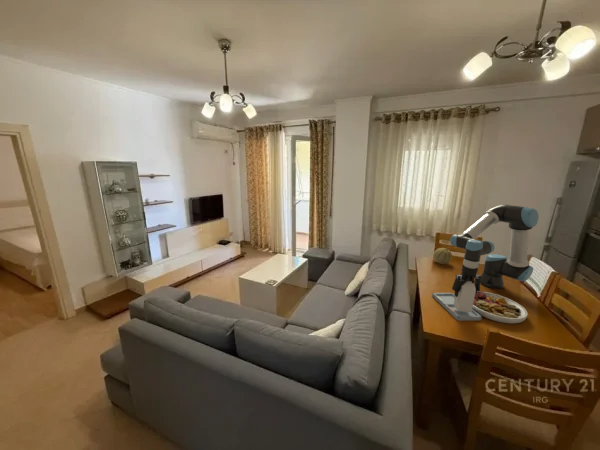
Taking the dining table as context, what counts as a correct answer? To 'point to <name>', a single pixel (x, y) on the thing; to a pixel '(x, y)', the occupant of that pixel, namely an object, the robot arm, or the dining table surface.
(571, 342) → the dining table surface
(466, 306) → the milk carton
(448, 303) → the divided tray
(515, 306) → the plate of food
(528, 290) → the dining table surface
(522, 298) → the dining table surface
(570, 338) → the dining table surface
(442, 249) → the cantaloupe
